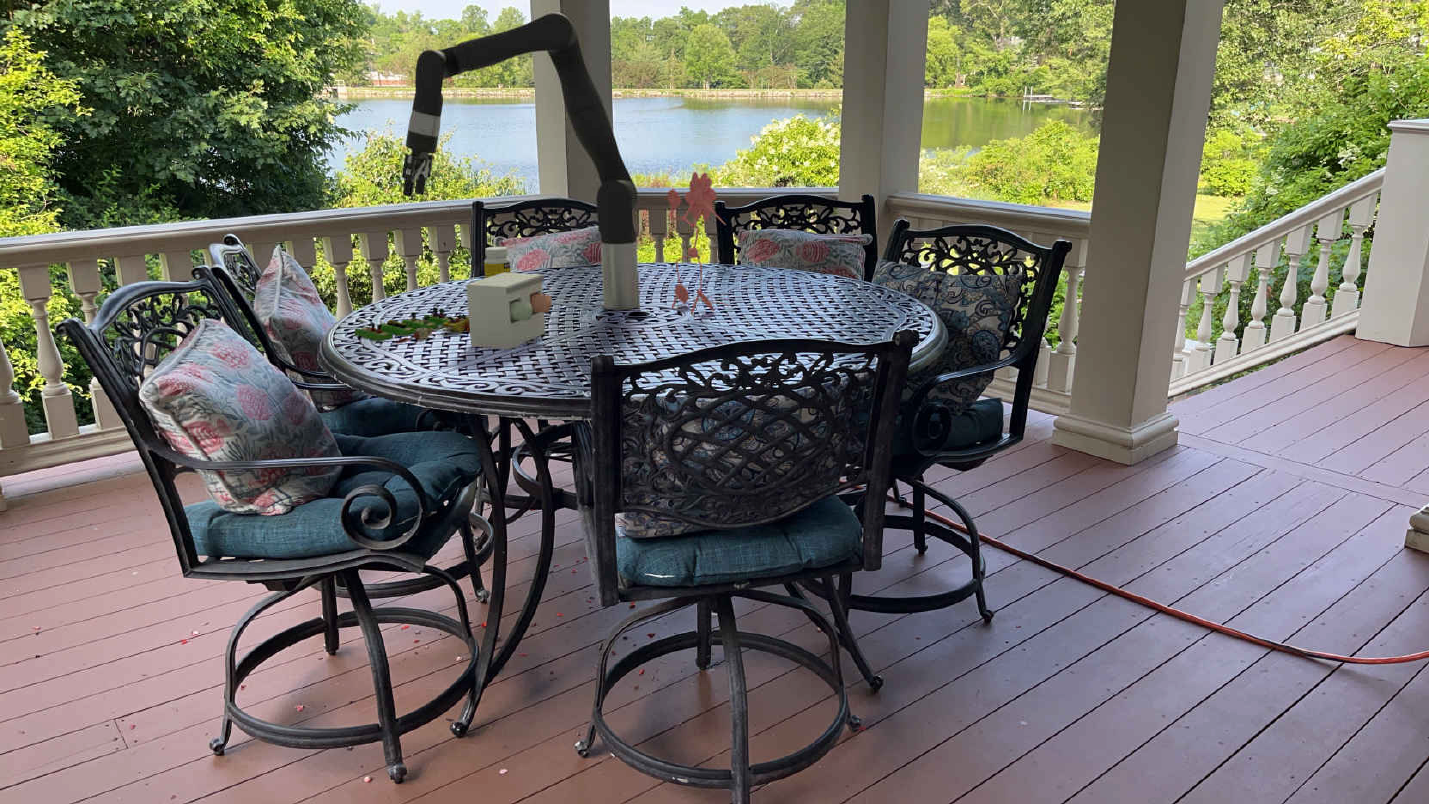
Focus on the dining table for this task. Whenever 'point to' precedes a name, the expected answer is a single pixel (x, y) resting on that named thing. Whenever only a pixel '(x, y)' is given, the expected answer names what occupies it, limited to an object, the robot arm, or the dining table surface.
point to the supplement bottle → (496, 261)
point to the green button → (520, 311)
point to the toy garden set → (416, 327)
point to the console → (503, 310)
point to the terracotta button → (540, 303)
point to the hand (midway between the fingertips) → (413, 194)
